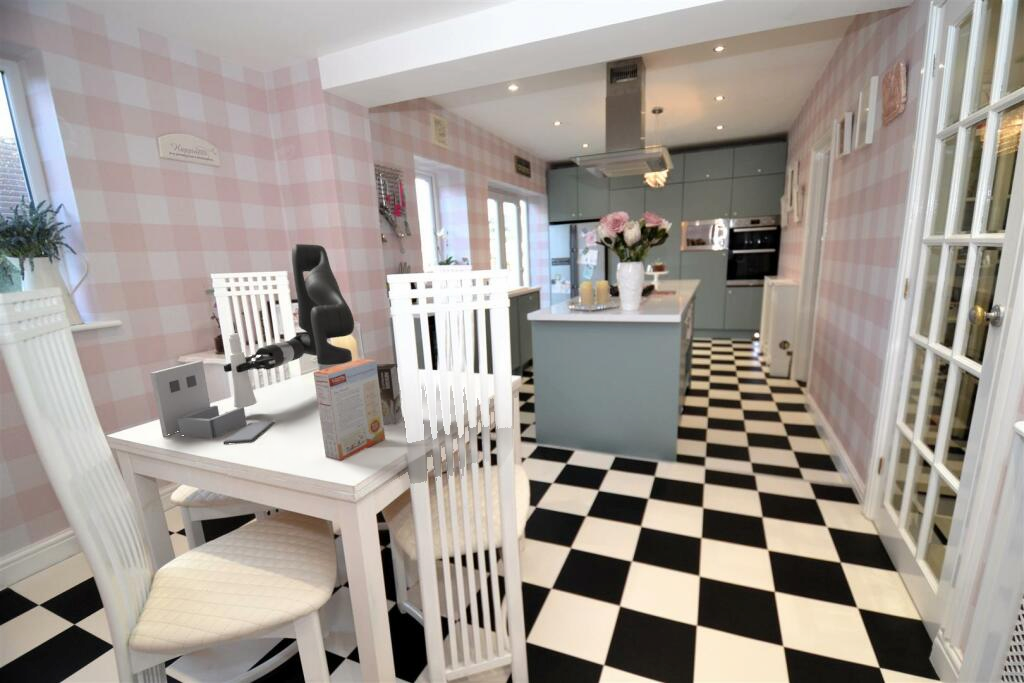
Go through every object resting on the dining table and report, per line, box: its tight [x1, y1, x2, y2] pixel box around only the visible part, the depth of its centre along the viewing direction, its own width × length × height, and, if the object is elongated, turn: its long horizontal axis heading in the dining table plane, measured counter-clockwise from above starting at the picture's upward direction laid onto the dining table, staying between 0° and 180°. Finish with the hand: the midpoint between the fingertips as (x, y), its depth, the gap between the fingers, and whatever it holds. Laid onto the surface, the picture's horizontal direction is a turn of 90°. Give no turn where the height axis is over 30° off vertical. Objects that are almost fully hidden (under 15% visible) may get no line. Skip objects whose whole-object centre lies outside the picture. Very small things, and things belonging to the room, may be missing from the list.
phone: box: [223, 420, 276, 445], centre depth 124 cm, size 7×14×1 cm, turn 5°
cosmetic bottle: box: [228, 332, 257, 409], centre depth 136 cm, size 6×6×22 cm
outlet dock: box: [150, 360, 248, 439], centre depth 127 cm, size 17×14×18 cm
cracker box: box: [313, 358, 386, 461], centre depth 108 cm, size 14×6×21 cm, turn 149°
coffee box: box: [377, 363, 403, 426], centre depth 126 cm, size 9×6×16 cm
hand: (231, 368), depth 133 cm, fingers closed on cosmetic bottle, 4 cm apart
